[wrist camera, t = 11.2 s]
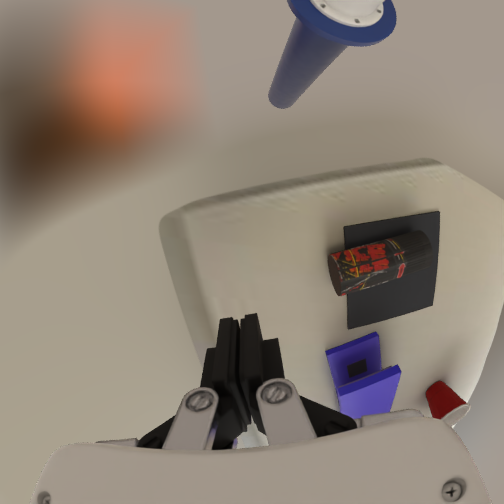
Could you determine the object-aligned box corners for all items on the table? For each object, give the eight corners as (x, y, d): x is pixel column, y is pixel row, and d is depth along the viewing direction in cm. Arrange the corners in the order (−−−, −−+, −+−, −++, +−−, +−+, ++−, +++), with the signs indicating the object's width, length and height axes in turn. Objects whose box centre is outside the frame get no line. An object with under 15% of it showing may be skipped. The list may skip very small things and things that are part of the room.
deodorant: (325, 250, 39) (410, 227, 38) (332, 288, 41) (414, 262, 40) (336, 260, 34) (431, 233, 33) (343, 302, 35) (433, 272, 34)
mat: (343, 226, 38) (344, 227, 38) (438, 211, 38) (439, 211, 37) (347, 328, 44) (348, 329, 44) (431, 304, 43) (432, 305, 43)
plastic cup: (409, 403, 54) (426, 436, 42) (433, 373, 50) (456, 405, 39) (433, 402, 55) (450, 432, 44) (456, 374, 52) (477, 402, 40)
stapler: (378, 330, 45) (401, 364, 35) (384, 410, 53) (397, 439, 44) (320, 352, 46) (333, 392, 36) (340, 427, 55) (350, 457, 45)
